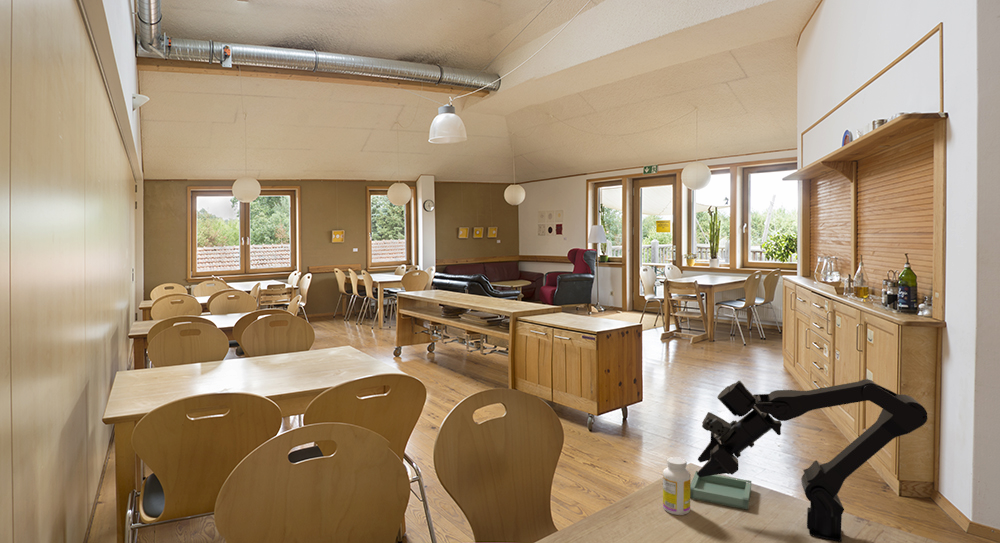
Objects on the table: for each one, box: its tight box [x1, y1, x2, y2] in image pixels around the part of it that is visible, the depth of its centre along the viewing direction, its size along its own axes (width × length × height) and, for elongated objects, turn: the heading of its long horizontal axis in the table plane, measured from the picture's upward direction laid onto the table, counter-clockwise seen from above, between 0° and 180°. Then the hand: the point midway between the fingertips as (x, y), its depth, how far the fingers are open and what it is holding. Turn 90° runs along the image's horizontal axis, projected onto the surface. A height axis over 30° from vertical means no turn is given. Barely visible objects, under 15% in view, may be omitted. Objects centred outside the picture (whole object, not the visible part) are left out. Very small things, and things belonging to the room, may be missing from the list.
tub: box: [690, 470, 752, 511], centre depth 153 cm, size 14×12×2 cm
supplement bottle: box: [662, 456, 692, 516], centre depth 145 cm, size 7×7×13 cm
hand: (698, 467), depth 143 cm, fingers open, 9 cm apart
